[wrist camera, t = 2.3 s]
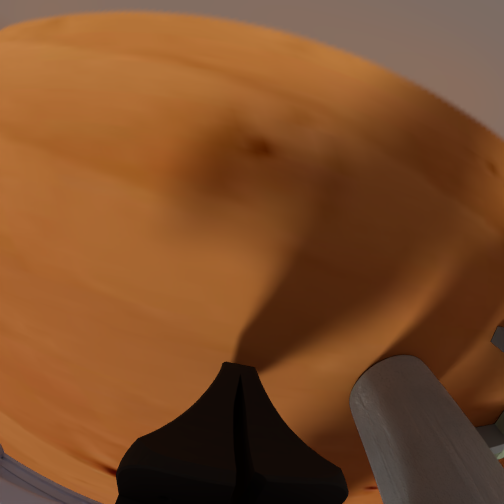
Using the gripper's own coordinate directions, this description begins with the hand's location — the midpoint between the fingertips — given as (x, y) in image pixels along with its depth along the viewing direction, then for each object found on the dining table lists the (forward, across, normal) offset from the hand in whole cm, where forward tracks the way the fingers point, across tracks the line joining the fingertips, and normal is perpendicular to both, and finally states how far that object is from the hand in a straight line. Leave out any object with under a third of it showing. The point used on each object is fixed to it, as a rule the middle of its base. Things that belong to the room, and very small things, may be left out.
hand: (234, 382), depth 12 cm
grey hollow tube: (+1, -8, 0) cm, 8 cm away
